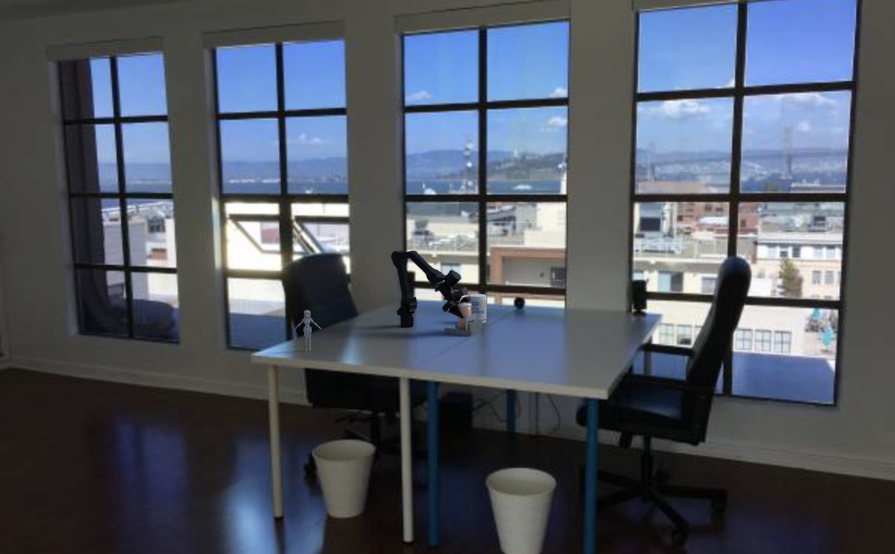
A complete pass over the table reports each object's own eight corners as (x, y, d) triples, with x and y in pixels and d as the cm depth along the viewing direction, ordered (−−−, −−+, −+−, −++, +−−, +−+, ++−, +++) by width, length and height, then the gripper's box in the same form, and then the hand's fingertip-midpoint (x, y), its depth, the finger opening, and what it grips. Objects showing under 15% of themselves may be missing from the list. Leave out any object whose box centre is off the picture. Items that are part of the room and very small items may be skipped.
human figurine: (294, 351, 314) (292, 311, 311) (295, 349, 317) (293, 310, 315) (321, 350, 315) (320, 310, 313) (322, 348, 319) (320, 309, 316)
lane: (444, 333, 347) (444, 320, 346) (456, 329, 356) (456, 317, 355) (470, 337, 339) (470, 323, 338) (482, 333, 348) (482, 320, 347)
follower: (465, 334, 342) (465, 315, 340) (474, 331, 349) (474, 313, 347) (467, 334, 341) (467, 316, 340) (476, 331, 348) (476, 313, 347)
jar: (459, 331, 343) (459, 305, 341) (456, 329, 349) (456, 303, 348) (472, 331, 344) (472, 304, 342) (469, 328, 351) (469, 302, 349)
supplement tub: (471, 324, 368) (471, 297, 366) (465, 321, 377) (465, 294, 375) (489, 323, 371) (489, 295, 369) (483, 320, 380) (482, 293, 378)
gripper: (447, 284, 338) (466, 309, 333) (467, 280, 353) (486, 303, 349) (433, 299, 343) (452, 324, 339) (454, 294, 359) (473, 317, 354)
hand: (467, 317), depth 345 cm, fingers closed on jar, 6 cm apart
